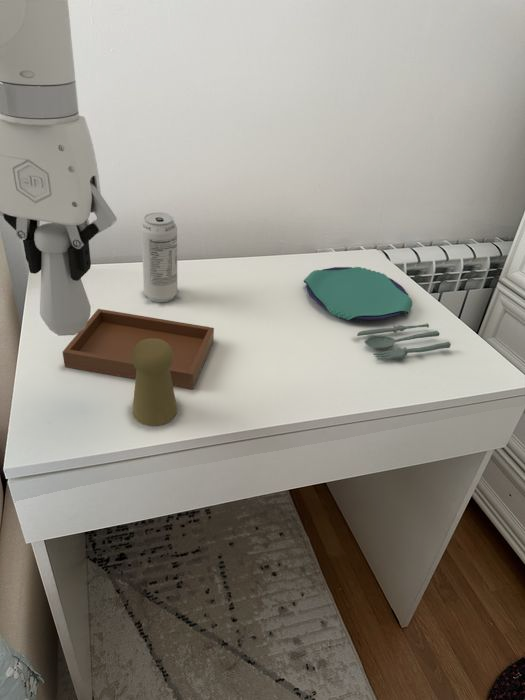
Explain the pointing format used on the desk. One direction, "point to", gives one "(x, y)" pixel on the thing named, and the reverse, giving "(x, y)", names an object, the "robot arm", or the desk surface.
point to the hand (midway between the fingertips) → (60, 270)
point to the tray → (122, 336)
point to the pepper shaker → (153, 383)
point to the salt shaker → (60, 283)
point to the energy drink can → (159, 256)
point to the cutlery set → (366, 304)
